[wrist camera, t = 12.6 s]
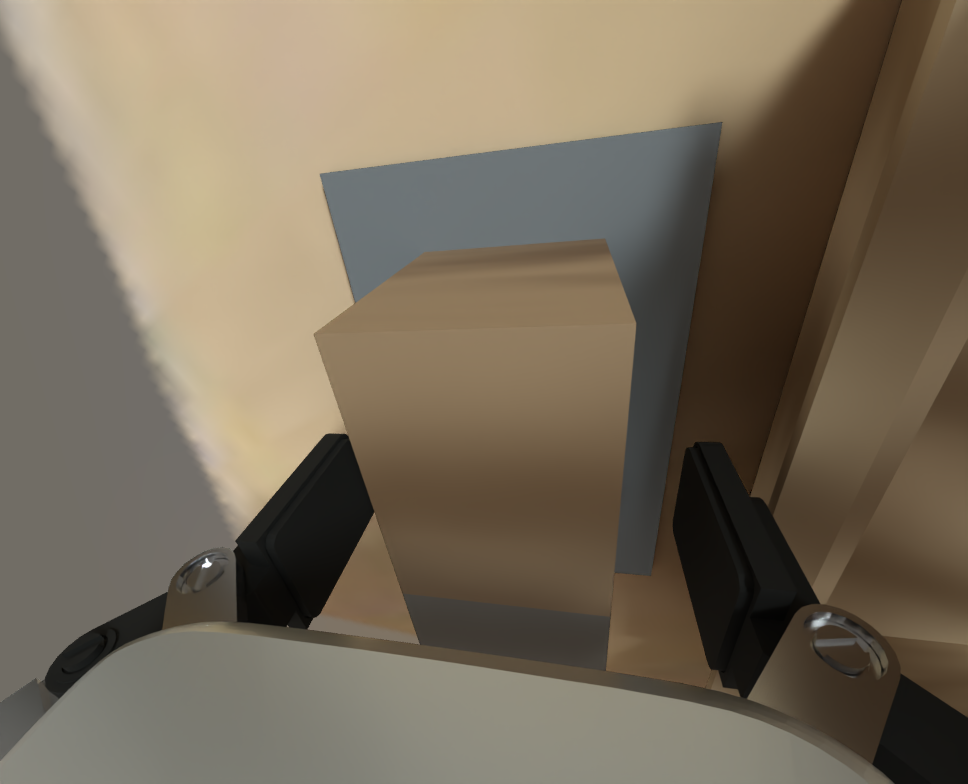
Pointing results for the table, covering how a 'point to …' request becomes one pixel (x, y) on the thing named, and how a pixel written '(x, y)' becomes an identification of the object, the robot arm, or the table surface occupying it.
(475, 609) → the walnut block
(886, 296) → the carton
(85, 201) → the table surface
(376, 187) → the rubber mat
